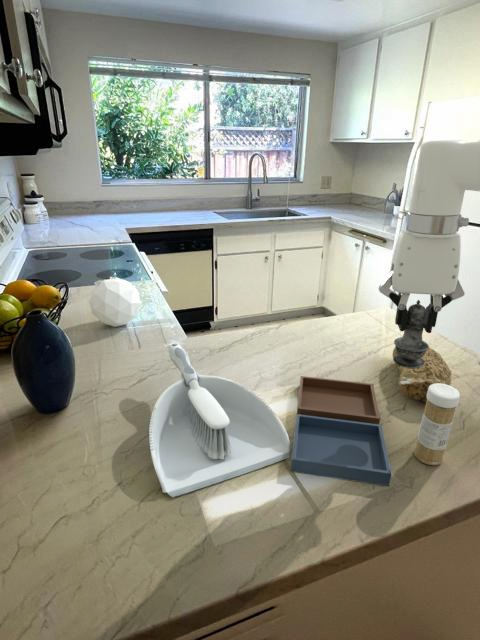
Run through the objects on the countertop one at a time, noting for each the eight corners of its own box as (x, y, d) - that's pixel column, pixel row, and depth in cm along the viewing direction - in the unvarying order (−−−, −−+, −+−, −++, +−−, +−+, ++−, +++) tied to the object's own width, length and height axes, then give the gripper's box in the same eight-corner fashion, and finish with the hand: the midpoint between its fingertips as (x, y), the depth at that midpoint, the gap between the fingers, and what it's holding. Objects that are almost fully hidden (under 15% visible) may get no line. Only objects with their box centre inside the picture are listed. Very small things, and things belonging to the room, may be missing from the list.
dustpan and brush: (163, 502, 59) (158, 451, 55) (121, 389, 86) (116, 350, 83) (296, 456, 68) (300, 409, 64) (220, 367, 95) (220, 331, 92)
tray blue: (379, 435, 73) (381, 424, 72) (389, 486, 62) (391, 473, 61) (295, 424, 76) (296, 413, 75) (290, 471, 65) (291, 459, 64)
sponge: (449, 416, 81) (455, 358, 95) (448, 386, 77) (455, 330, 92) (381, 407, 88) (396, 353, 102) (378, 379, 84) (394, 327, 98)
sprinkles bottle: (431, 446, 71) (448, 380, 66) (448, 465, 67) (467, 396, 61) (407, 449, 70) (422, 383, 65) (423, 468, 66) (440, 399, 61)
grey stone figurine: (386, 354, 77) (394, 295, 72) (416, 353, 77) (426, 293, 72) (399, 370, 71) (410, 306, 66) (431, 368, 71) (444, 305, 67)
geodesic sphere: (77, 318, 106) (106, 273, 105) (74, 301, 118) (100, 260, 117) (126, 342, 114) (154, 300, 113) (119, 323, 126) (144, 286, 125)
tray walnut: (371, 393, 86) (373, 383, 85) (378, 429, 75) (380, 418, 74) (299, 385, 89) (300, 375, 88) (296, 419, 77) (297, 408, 77)
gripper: (479, 222, 66) (457, 324, 73) (375, 220, 69) (363, 318, 76) (497, 230, 60) (471, 341, 67) (380, 227, 63) (367, 334, 70)
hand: (413, 328), depth 71 cm, fingers closed on grey stone figurine, 3 cm apart
